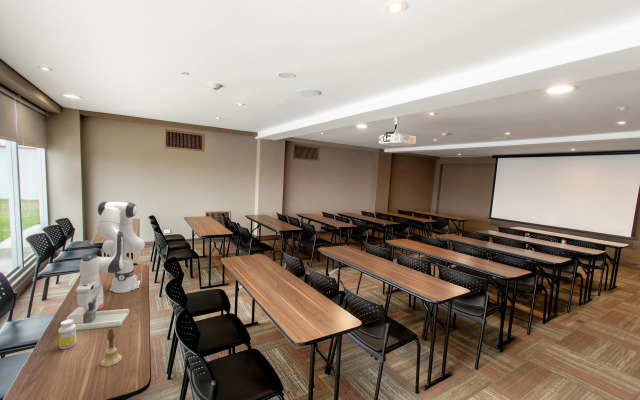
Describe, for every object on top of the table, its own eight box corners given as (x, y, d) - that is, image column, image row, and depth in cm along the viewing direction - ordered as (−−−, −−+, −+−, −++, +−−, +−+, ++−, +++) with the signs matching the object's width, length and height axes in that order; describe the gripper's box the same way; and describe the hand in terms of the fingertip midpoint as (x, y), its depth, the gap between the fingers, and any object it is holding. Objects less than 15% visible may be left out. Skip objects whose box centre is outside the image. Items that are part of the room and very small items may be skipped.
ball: (80, 313, 160) (88, 313, 161) (78, 319, 160) (86, 320, 161) (76, 316, 156) (84, 317, 157) (75, 323, 156) (83, 323, 157)
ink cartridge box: (97, 306, 179) (97, 284, 178) (103, 307, 178) (103, 285, 177) (83, 312, 171) (83, 289, 169) (90, 313, 170) (90, 290, 169)
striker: (90, 318, 162) (90, 301, 161) (96, 318, 163) (96, 300, 162) (86, 323, 157) (85, 305, 156) (92, 322, 158) (92, 304, 157)
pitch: (78, 317, 164) (78, 305, 164) (129, 313, 172) (128, 301, 172) (64, 331, 150) (64, 318, 149) (120, 325, 158) (119, 313, 158)
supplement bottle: (62, 342, 141) (61, 319, 140) (78, 340, 143) (78, 317, 142) (56, 350, 135) (55, 326, 133) (73, 348, 137) (72, 323, 136)
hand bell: (97, 368, 124) (97, 335, 123) (103, 357, 132) (103, 325, 131) (119, 364, 128) (119, 332, 126) (124, 353, 135) (124, 323, 134)
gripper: (92, 276, 167) (92, 298, 168) (74, 291, 148) (74, 315, 149) (104, 276, 169) (104, 297, 170) (88, 290, 150) (88, 314, 151)
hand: (90, 306), depth 159 cm, fingers open, 8 cm apart
